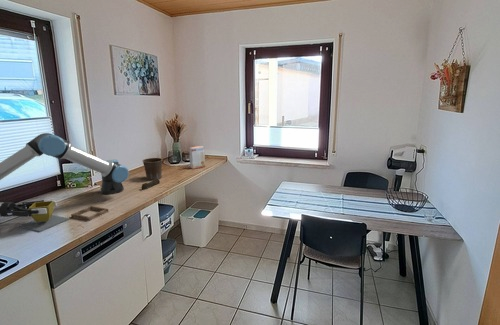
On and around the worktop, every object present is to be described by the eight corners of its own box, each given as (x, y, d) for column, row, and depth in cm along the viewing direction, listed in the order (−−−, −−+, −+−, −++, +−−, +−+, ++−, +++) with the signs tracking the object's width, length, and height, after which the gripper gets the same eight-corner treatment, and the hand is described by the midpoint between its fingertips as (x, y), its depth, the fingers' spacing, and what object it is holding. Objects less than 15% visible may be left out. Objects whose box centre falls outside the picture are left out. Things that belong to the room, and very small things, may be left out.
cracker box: (202, 166, 277) (201, 145, 272) (205, 167, 272) (204, 146, 268) (189, 168, 268) (188, 147, 263) (192, 169, 264) (191, 148, 259)
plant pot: (152, 182, 222) (151, 162, 218) (139, 179, 230) (138, 160, 227) (167, 177, 236) (166, 159, 232) (155, 174, 244) (154, 157, 240)
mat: (49, 215, 158) (49, 214, 158) (69, 219, 153) (69, 218, 153) (18, 227, 143) (18, 226, 143) (40, 232, 138) (39, 231, 138)
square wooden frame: (91, 208, 168) (91, 205, 167) (108, 211, 163) (108, 208, 163) (71, 217, 155) (70, 214, 155) (89, 220, 151) (88, 217, 151)
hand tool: (156, 183, 220) (155, 177, 219) (160, 183, 219) (159, 178, 218) (139, 190, 203) (138, 184, 202) (143, 191, 201) (142, 185, 200)
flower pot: (37, 217, 150) (34, 202, 148) (56, 215, 153) (53, 200, 151) (31, 224, 142) (28, 208, 140) (51, 222, 145) (48, 206, 143)
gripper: (18, 208, 154) (62, 205, 158) (-11, 225, 133) (41, 222, 137) (15, 195, 152) (60, 193, 156) (-14, 211, 131) (38, 208, 135)
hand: (51, 207), depth 147 cm, fingers closed on flower pot, 10 cm apart
